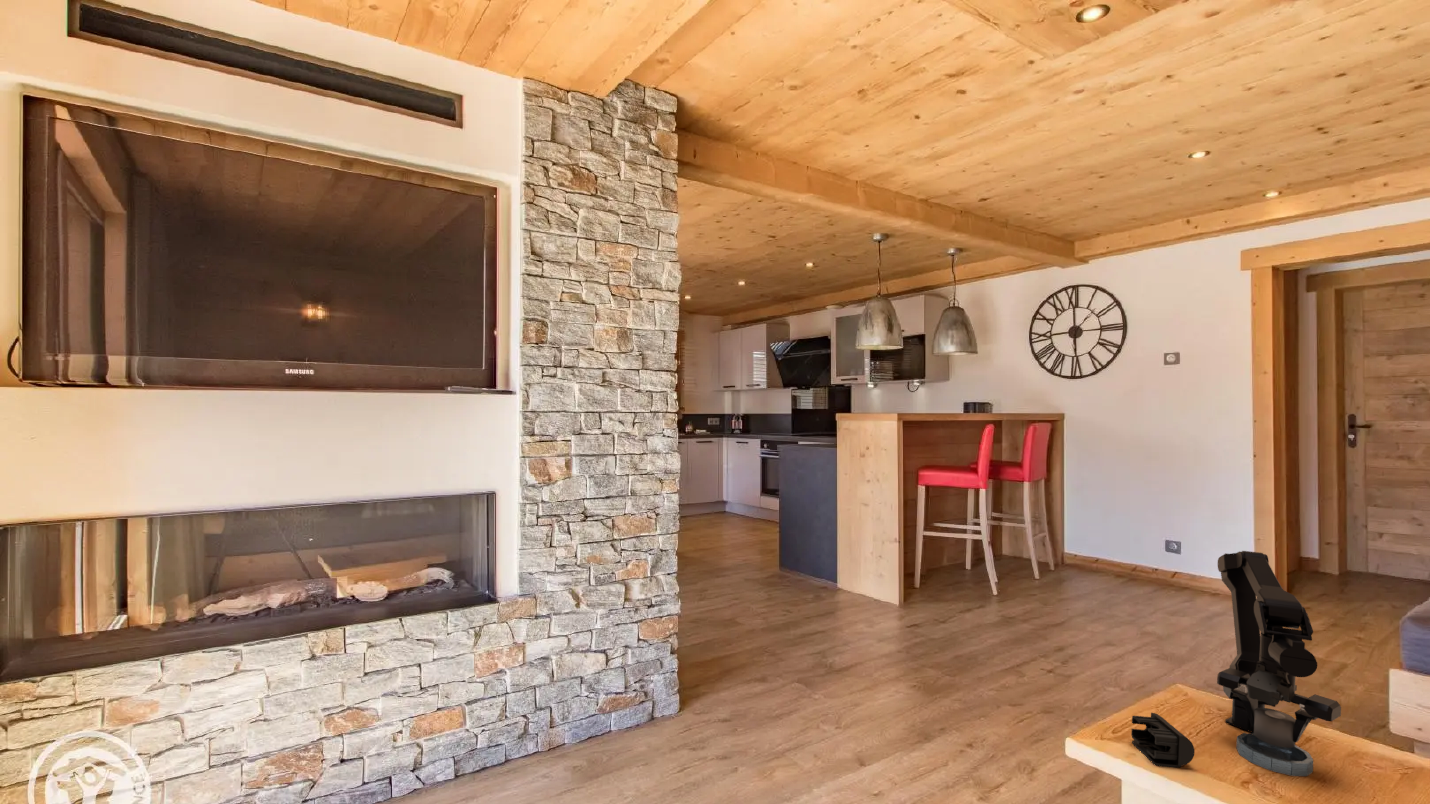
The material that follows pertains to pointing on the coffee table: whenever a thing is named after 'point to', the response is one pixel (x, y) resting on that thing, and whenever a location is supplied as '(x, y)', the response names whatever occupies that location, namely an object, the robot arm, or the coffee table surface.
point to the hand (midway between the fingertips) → (1274, 734)
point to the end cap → (1162, 742)
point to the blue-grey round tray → (1274, 756)
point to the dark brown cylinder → (1274, 727)
